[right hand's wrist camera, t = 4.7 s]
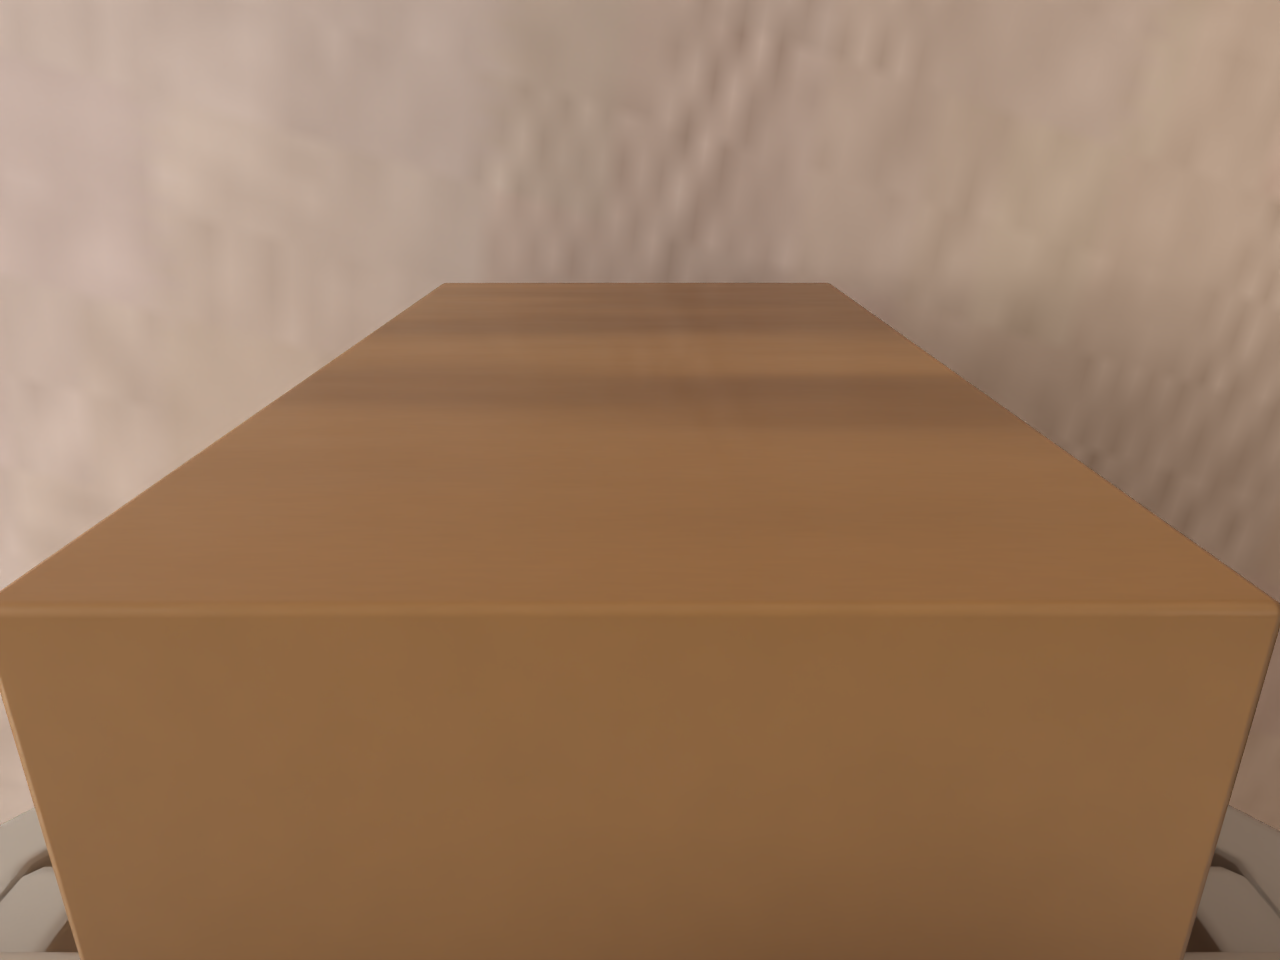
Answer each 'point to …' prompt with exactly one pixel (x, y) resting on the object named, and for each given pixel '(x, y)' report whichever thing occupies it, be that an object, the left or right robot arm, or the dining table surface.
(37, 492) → the dining table surface
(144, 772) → the bar
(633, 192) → the dining table surface
